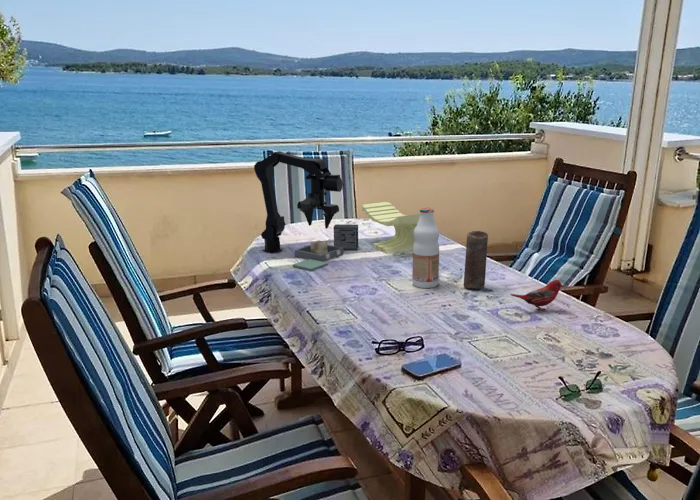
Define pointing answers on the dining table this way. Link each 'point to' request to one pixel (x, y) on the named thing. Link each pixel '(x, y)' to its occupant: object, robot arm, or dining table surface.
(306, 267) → the mat
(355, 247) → the small box
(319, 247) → the block
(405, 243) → the slatted curved stool
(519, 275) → the dining table surface
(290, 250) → the dining table surface
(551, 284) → the decorative bird figurine
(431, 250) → the fruit juice
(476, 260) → the candle
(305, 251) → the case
